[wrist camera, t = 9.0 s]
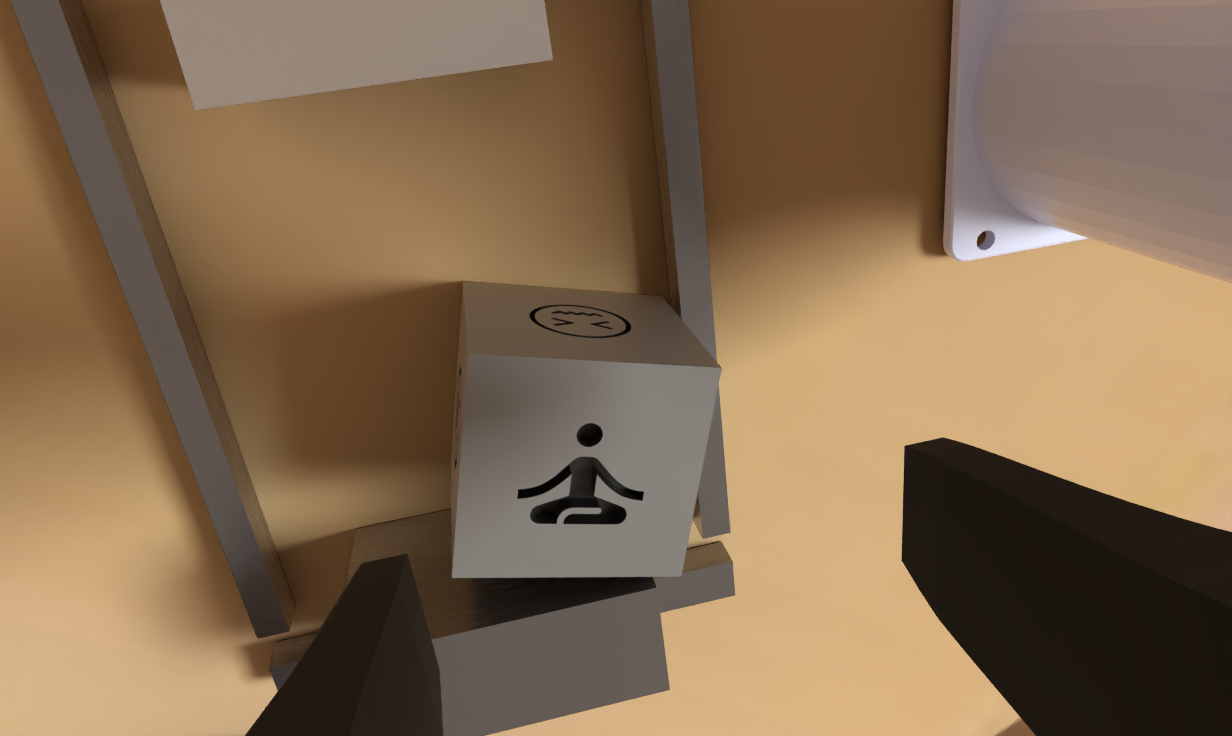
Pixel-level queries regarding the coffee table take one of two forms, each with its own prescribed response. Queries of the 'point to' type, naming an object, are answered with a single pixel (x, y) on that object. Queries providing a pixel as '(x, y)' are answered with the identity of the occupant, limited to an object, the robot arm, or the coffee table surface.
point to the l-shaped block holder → (344, 43)
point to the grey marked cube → (575, 433)
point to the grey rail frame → (453, 607)
